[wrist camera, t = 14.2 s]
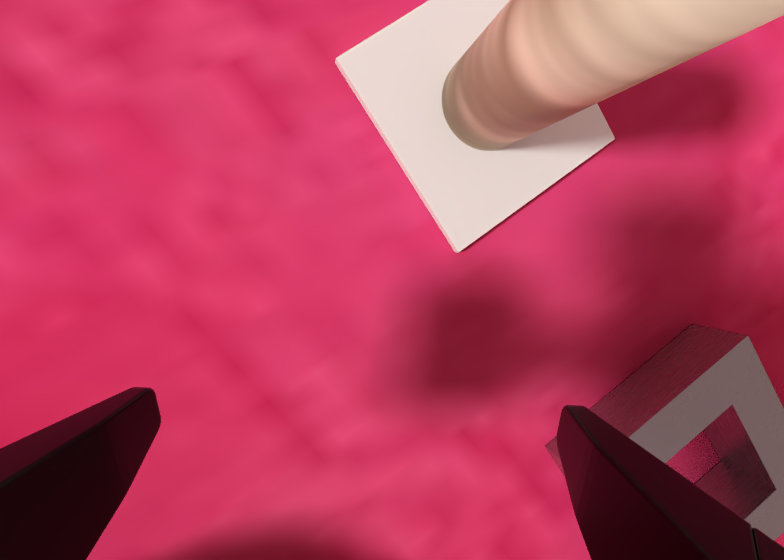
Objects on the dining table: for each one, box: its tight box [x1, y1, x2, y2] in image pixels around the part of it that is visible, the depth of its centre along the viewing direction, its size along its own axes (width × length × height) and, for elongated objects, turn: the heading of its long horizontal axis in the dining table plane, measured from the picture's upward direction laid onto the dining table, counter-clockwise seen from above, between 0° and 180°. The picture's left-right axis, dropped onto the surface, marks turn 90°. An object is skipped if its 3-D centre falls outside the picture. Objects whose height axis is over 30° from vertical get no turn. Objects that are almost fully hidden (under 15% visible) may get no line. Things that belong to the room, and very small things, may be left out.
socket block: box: [545, 324, 784, 541], centre depth 23 cm, size 11×11×3 cm
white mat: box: [335, 0, 615, 252], centre depth 20 cm, size 10×10×1 cm
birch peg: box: [442, 0, 784, 151], centre depth 13 cm, size 4×4×13 cm
